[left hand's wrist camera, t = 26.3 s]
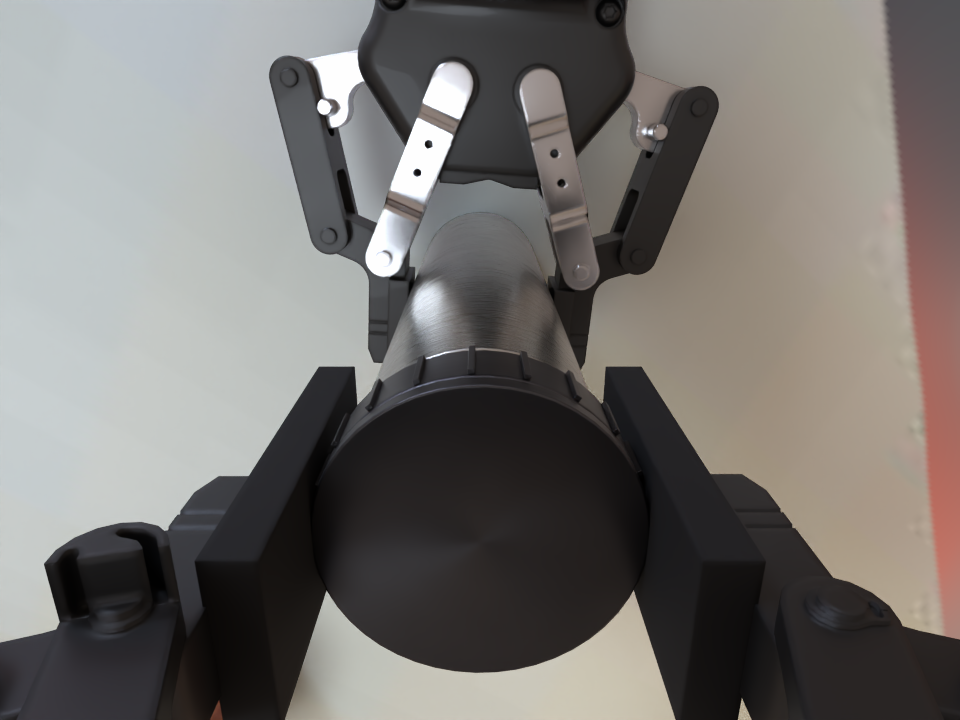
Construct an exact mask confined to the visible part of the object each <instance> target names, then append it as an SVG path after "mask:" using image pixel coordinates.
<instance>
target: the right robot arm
mask: <svg viewBox="0 0 960 720" xmlns="http://www.w3.org/2000/svg"><path fill="white" fill-rule="evenodd" d="M627 2H628V0H375V7H374V11H373V14H372V18H371V20H370V23H369V25H368V27H367V29H366V31H365V33H364V34H363V36H362V38H361V40H360V43H359V47H358V50H353V51H348V52H343V53H338V54H332V55H327V56H322V57H317V58H311V59H303V58H300V57H293V56H282V57H280V58H278V59H276V60H275V61H274V63H273V64H272V66H271V68H270V72H269V79H270V83H271V87H272V91H273V95H274V99H275V103H276V107H277V110H278V114H279V118H280V122H281V126H282V130H283V134H284V137H285V141H286V145H287V149H288V153H289V157H290V161H291V164H292V168H293V172H294V176H295V180H296V184H297V188H298V191H299V195H300V199H301V203H302V207H303V211H304V215H305V218H306V222H307V226H308V230H309V234H310V238H311V241H312V243H313V245H314V246H315V248H316V249H317V250H319V251H320V252H322V253H325V254H336V253H337V254H339V255H341V256H344V257H346V258H348V259H351V260H353V261H355V262H357V263H358V264H360V265H361V266H362V267H363V268H364V270H365V271H366V273H367V275H368V278H369V334H368V349H369V352H370V354H371V357H372V359H373V362H375V363H383V361H384V358H385V356H386V353H387V351H388V348H389V346H390V343H391V341H392V338H393V335H394V333H395V330H396V328H397V325H398V323H399V320H400V318H401V315H402V313H403V310H404V308H405V305H406V302H407V300H408V297H409V295H410V292H411V290H412V287H413V285H414V282H415V267H409V260H410V247H411V245H412V242H413V240H414V237H415V235H416V233H417V230H418V228H419V225H420V223H421V220H422V218H423V216H424V213H425V211H426V208H427V206H428V204H429V202H430V199H431V197H432V194H433V192H434V190H435V187H436V185H437V182H438V180H440V183H452V184H468V183H473V182H478V181H483V180H493V181H495V182H498V183H501V184H504V185H507V186H509V187H512V188H522V189H535V190H537V193H538V197H539V201H540V205H541V209H542V212H543V215H544V218H545V222H546V226H547V230H548V234H549V238H550V242H551V246H552V250H553V254H554V258H555V262H556V270H555V276H548V285H547V287H548V289H549V292H550V294H551V297H552V299H553V302H554V304H555V307H556V309H557V312H558V315H559V317H560V320H561V322H562V325H563V327H564V330H565V332H566V335H567V337H568V340H569V342H570V345H571V348H572V350H573V353H574V355H575V358H576V360H577V363H578V365H579V368H580V370H581V368H582V366H583V365H584V363H585V356H586V349H587V348H586V347H587V341H588V334H589V326H590V319H591V311H592V303H593V297H594V294H595V291H596V289H597V288H598V287H599V285H600V284H601V283H603V282H604V281H606V280H608V279H610V278H614V277H617V276H621V275H624V274H628V273H630V274H634V275H639V274H643V273H646V272H647V271H649V270H650V269H651V268H652V267H653V266H654V264H655V262H656V259H657V257H658V255H659V252H660V250H661V247H662V245H663V243H664V240H665V238H666V235H667V233H668V230H669V228H670V226H671V223H672V221H673V218H674V216H675V214H676V211H677V209H678V206H679V204H680V202H681V199H682V197H683V194H684V192H685V190H686V187H687V185H688V182H689V180H690V178H691V175H692V173H693V170H694V168H695V166H696V163H697V161H698V158H699V156H700V154H701V151H702V149H703V146H704V144H705V142H706V139H707V137H708V134H709V132H710V129H711V127H712V125H713V122H714V120H715V117H716V115H717V112H718V108H719V102H718V98H717V96H716V94H715V93H714V91H713V90H711V89H710V88H708V87H704V86H697V87H690V88H682V87H679V86H676V85H673V84H670V83H668V82H665V81H662V80H659V79H656V78H654V77H651V76H648V75H645V74H642V73H640V72H637V71H635V62H634V58H633V56H632V53H631V50H630V48H629V45H628V40H627V35H626V25H625V22H626V10H627ZM364 84H366V85H367V86H368V88H369V89H370V91H371V93H372V94H373V96H374V97H375V99H376V101H377V102H378V104H379V105H380V107H381V108H382V110H383V112H384V113H385V115H386V116H387V118H388V120H389V121H390V123H391V124H392V126H393V127H394V129H395V131H396V132H397V134H398V135H399V137H400V139H401V140H402V142H403V143H404V145H405V146H406V148H405V150H404V153H403V156H402V158H401V161H400V163H399V166H398V168H397V171H396V174H395V176H394V179H393V181H392V184H391V186H390V189H389V192H388V195H387V198H386V202H385V205H384V208H383V211H382V213H381V216H380V218H379V221H378V223H375V222H373V221H371V220H369V219H366V218H364V217H362V216H360V215H358V211H357V207H356V203H355V199H354V194H353V190H352V186H351V181H350V177H349V173H348V168H347V164H346V160H345V155H344V151H343V147H342V142H341V138H340V134H339V129H338V127H342V126H344V125H346V124H347V123H348V122H349V121H350V120H351V118H352V116H353V110H354V109H353V98H354V95H355V92H356V91H357V89H358V88H359V87H360V86H362V85H364ZM622 104H624V105H626V106H627V108H628V109H629V111H630V113H631V117H632V124H631V128H630V137H631V140H632V142H633V144H634V145H635V146H636V147H637V148H639V149H641V150H642V151H641V153H640V156H639V158H638V161H637V164H636V166H635V169H634V171H633V174H632V177H631V179H630V182H629V184H628V187H627V189H626V192H625V195H624V197H623V200H622V202H621V205H620V208H619V210H618V213H617V215H616V218H615V221H614V223H613V226H612V228H611V231H610V233H608V234H604V235H601V236H597V237H594V238H592V234H591V230H590V225H589V221H588V209H587V204H586V199H585V195H584V191H583V186H582V182H581V177H580V173H579V169H578V164H577V160H576V158H577V157H578V155H579V154H580V153H581V152H582V151H583V149H584V148H585V147H586V146H587V145H588V144H589V142H590V141H591V140H592V139H593V138H594V137H595V135H596V134H597V133H598V132H599V131H600V130H601V128H602V127H603V126H604V125H605V124H606V122H607V121H608V120H609V119H610V118H611V117H612V115H613V114H614V113H615V112H616V111H617V110H618V108H619V107H620V106H621V105H622Z"/></svg>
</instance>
